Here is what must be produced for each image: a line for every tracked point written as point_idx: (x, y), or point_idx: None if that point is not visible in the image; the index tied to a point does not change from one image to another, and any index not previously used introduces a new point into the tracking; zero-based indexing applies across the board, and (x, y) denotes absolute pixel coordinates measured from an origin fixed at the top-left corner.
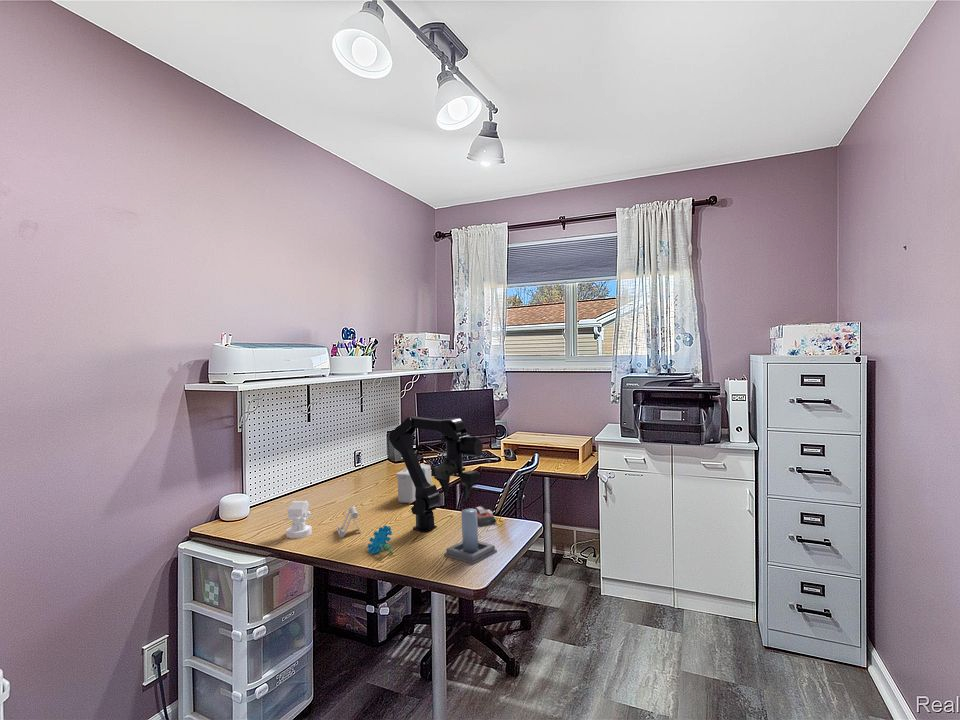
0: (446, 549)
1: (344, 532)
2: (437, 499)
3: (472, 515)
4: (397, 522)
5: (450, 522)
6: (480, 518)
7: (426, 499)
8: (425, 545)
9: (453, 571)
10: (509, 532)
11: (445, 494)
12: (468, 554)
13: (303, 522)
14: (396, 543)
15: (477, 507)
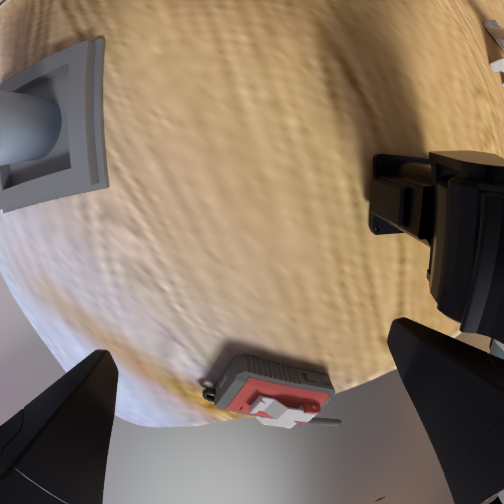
0: (89, 40)
1: (494, 31)
2: (447, 289)
3: None
4: None
5: (357, 305)
6: (239, 376)
7: (489, 182)
8: (251, 42)
9: (22, 23)
10: None
11: (403, 328)
12: (4, 86)
13: None
14: (363, 13)
15: (307, 415)
